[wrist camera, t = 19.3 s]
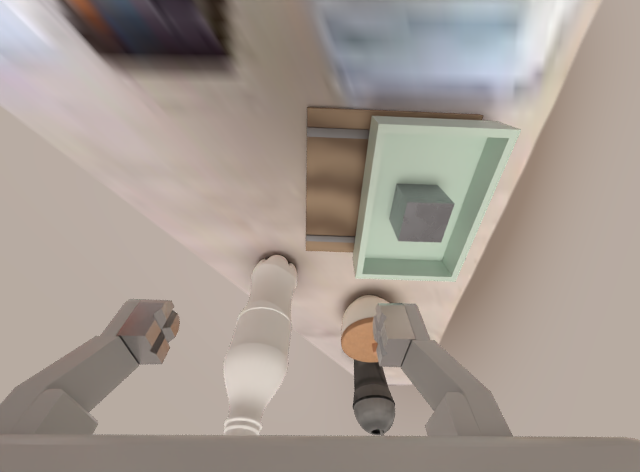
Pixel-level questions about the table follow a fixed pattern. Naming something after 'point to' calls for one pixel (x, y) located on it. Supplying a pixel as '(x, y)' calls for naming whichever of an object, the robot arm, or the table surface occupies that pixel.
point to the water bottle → (259, 346)
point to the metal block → (420, 212)
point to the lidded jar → (360, 329)
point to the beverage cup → (372, 398)
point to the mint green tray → (431, 169)
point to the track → (341, 171)
